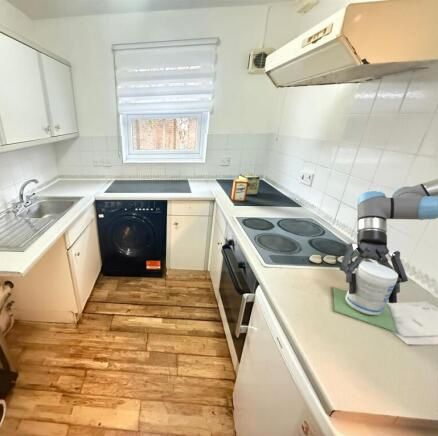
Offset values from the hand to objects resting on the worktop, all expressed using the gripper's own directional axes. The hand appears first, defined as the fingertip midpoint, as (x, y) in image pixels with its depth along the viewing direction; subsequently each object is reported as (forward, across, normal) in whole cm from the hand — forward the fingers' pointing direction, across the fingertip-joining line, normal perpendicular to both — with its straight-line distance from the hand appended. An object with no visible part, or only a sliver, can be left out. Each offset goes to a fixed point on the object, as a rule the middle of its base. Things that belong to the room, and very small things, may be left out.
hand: (371, 297), depth 76 cm
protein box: (-87, +44, -98) cm, 138 cm away
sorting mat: (+3, 0, -7) cm, 7 cm away
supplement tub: (+2, 0, -6) cm, 7 cm away
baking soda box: (-71, +49, -82) cm, 119 cm away
